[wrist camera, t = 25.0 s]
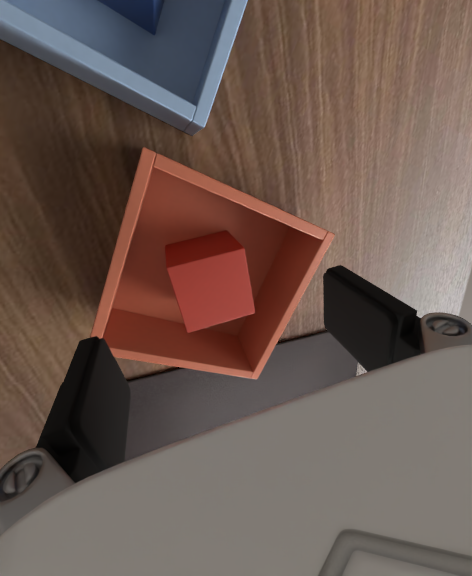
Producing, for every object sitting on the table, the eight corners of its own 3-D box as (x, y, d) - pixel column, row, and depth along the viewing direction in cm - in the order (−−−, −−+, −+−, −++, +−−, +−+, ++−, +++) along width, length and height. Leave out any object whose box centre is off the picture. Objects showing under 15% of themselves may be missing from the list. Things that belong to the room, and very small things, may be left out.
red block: (181, 300, 20) (187, 333, 16) (164, 245, 18) (166, 268, 14) (237, 284, 21) (255, 313, 17) (227, 229, 19) (244, 247, 15)
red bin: (102, 309, 19) (85, 352, 15) (147, 150, 16) (142, 146, 12) (239, 339, 24) (257, 380, 19) (297, 218, 20) (335, 234, 16)
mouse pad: (65, 396, 21) (65, 398, 21) (362, 322, 26) (363, 323, 26) (156, 564, 36) (156, 566, 36) (338, 496, 41) (339, 497, 40)
